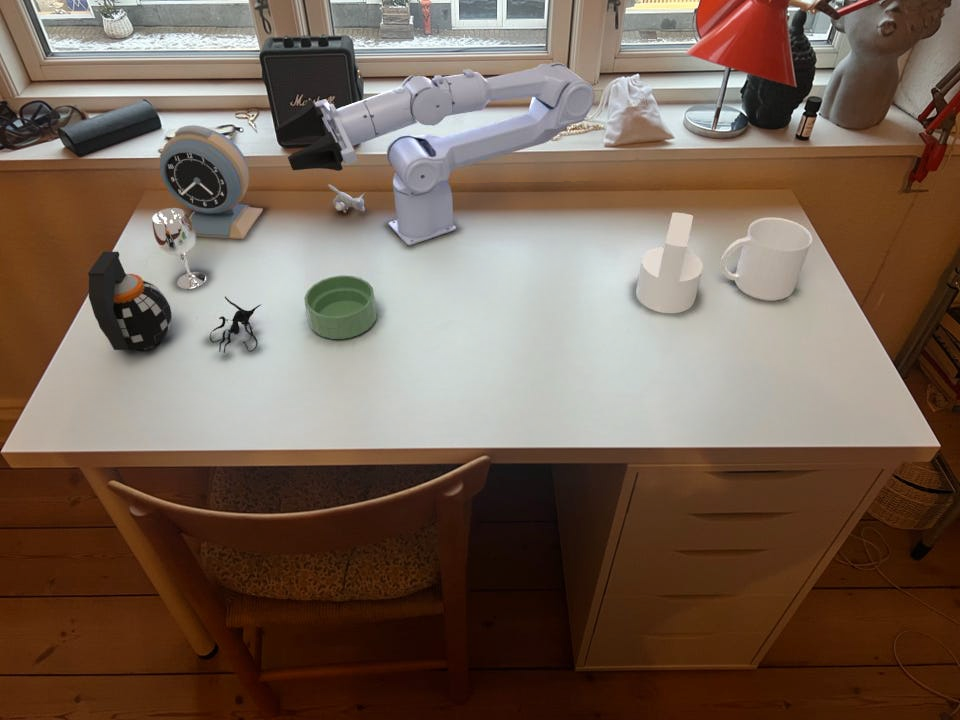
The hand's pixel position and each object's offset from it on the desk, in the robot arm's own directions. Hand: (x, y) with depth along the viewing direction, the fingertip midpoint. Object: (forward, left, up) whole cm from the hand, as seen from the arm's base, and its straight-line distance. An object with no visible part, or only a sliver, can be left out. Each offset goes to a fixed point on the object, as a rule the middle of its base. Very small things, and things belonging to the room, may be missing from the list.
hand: (283, 149), depth 105 cm
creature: (+16, +15, -19) cm, 29 cm away
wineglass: (+18, -3, -19) cm, 27 cm away
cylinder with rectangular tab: (-44, +40, -19) cm, 62 cm away
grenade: (+28, +9, -19) cm, 35 cm away
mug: (-58, +45, -19) cm, 76 cm away
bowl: (+1, +19, -19) cm, 27 cm away
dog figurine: (-12, -9, -19) cm, 24 cm away
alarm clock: (+9, -18, -19) cm, 28 cm away
